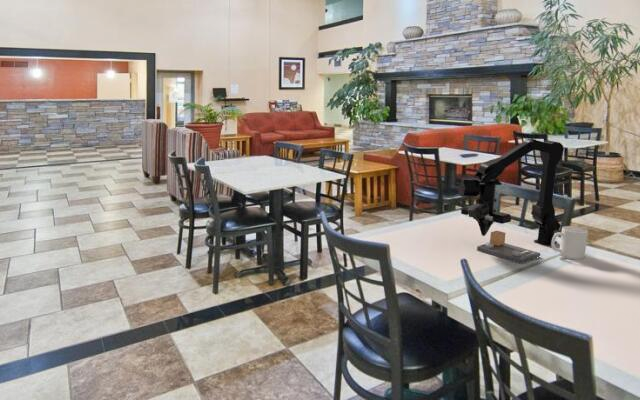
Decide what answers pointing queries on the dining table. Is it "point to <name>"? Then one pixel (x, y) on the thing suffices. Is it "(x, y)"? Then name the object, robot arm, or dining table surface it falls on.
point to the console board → (509, 252)
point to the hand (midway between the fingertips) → (483, 235)
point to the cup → (571, 242)
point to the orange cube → (497, 238)
